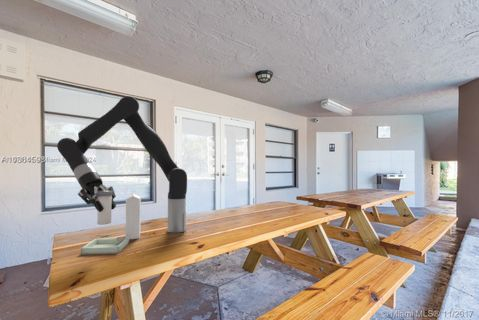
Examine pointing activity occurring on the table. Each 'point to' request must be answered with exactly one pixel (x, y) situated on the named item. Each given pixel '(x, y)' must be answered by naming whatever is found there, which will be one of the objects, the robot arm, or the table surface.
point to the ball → (118, 240)
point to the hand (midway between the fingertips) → (107, 209)
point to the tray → (104, 246)
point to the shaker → (106, 202)
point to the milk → (133, 216)
